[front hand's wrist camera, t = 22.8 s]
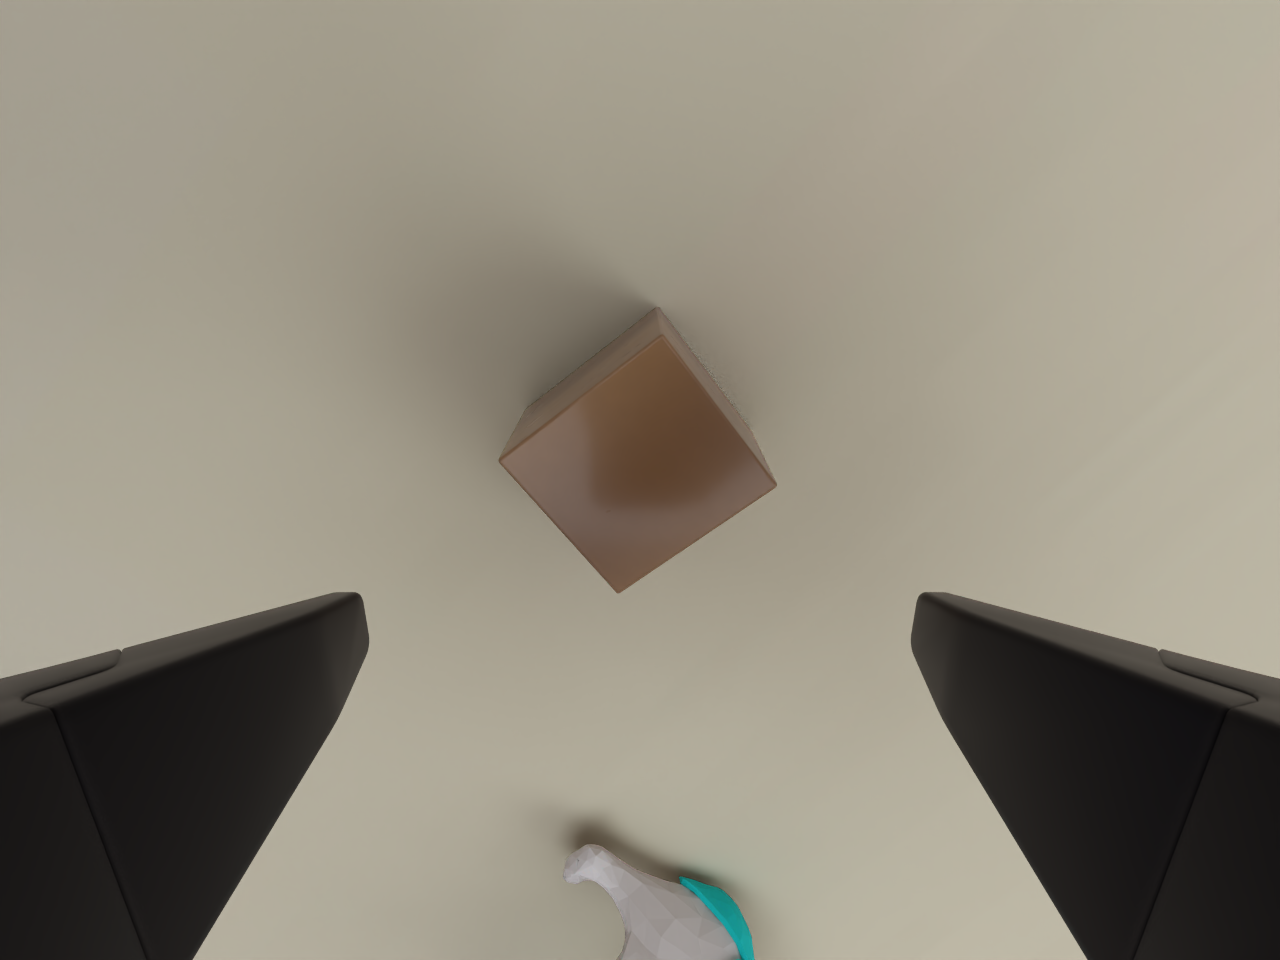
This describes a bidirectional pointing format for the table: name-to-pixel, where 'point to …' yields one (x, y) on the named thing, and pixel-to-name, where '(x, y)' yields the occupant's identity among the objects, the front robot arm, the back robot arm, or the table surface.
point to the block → (637, 453)
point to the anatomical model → (665, 911)
